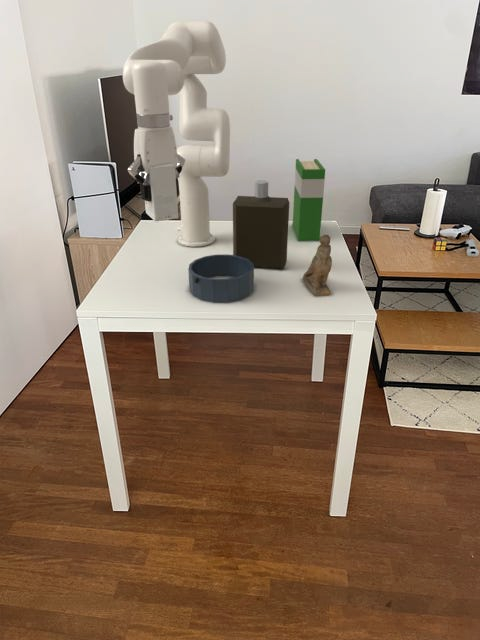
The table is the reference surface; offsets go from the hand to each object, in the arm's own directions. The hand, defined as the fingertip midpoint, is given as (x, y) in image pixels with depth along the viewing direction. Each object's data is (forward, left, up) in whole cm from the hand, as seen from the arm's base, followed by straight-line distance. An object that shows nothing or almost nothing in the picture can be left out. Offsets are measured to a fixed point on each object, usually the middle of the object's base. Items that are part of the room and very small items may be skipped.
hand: (160, 196), depth 119 cm
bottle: (+7, +30, -26) cm, 40 cm away
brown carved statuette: (+29, +29, -26) cm, 48 cm away
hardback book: (-2, +64, -26) cm, 69 cm away
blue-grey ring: (+11, +10, -26) cm, 30 cm away
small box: (0, 0, -5) cm, 5 cm away
